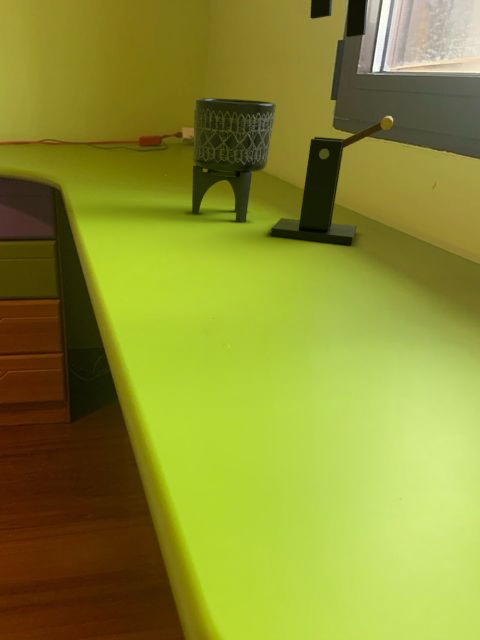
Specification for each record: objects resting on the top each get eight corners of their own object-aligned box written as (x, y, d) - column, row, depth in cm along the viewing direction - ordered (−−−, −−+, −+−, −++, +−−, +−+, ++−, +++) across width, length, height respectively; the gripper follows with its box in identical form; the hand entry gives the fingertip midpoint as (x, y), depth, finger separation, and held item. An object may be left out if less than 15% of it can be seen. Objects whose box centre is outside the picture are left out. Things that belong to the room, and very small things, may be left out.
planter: (278, 221, 115) (292, 104, 107) (210, 224, 110) (220, 102, 102) (237, 206, 125) (248, 99, 117) (174, 209, 120) (180, 97, 112)
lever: (395, 127, 100) (390, 110, 99) (395, 129, 95) (389, 112, 94) (322, 162, 105) (316, 147, 104) (317, 166, 100) (311, 150, 99)
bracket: (355, 233, 109) (371, 139, 103) (351, 245, 102) (368, 144, 95) (280, 225, 112) (291, 133, 106) (270, 236, 105) (282, 138, 98)
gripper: (355, -111, 105) (345, 45, 111) (284, -183, 85) (277, 12, 92) (405, -125, 101) (392, 38, 107) (343, -203, 81) (331, 2, 88)
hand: (339, 27), depth 99 cm, fingers open, 13 cm apart
